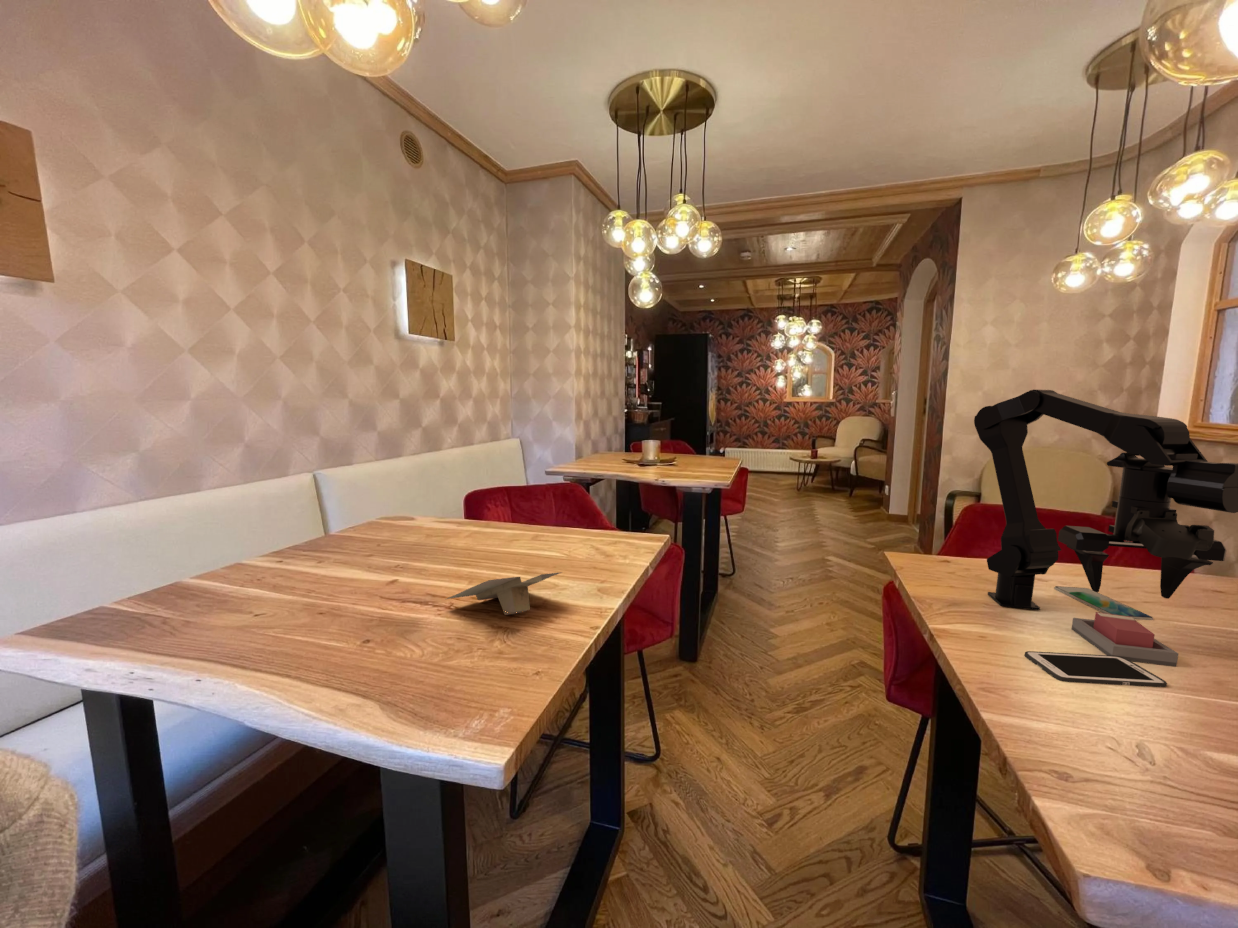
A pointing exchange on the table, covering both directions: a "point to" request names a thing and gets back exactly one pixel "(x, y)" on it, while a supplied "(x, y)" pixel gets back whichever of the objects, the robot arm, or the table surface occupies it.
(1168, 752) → the table surface
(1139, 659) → the pocket tray
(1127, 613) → the smartphone
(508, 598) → the grey winged bracket
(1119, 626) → the card box
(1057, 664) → the cell phone
